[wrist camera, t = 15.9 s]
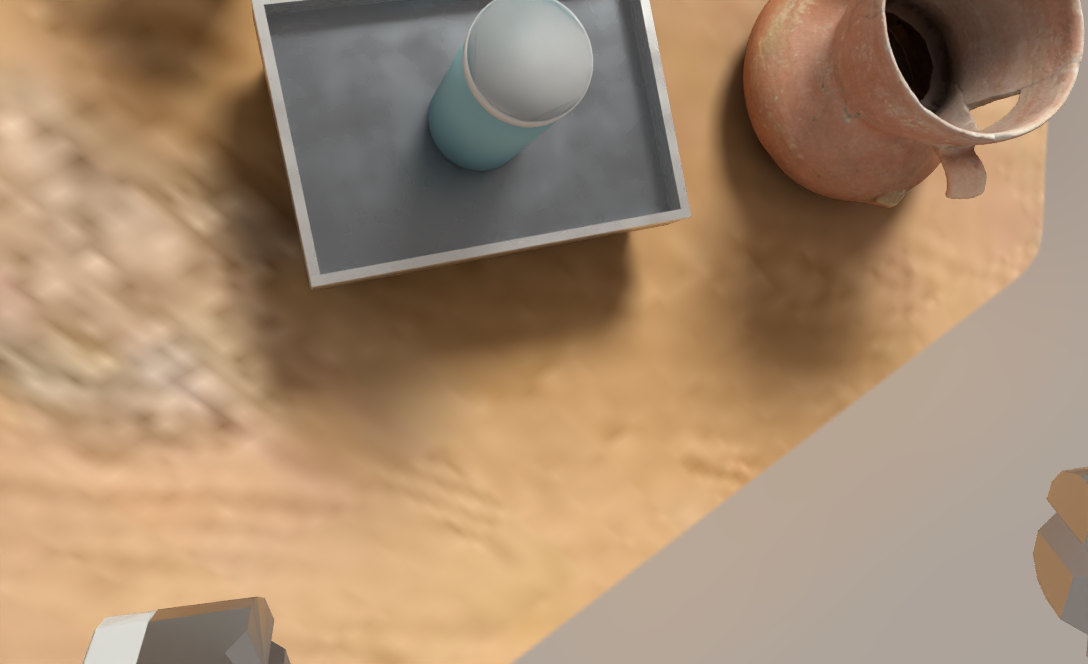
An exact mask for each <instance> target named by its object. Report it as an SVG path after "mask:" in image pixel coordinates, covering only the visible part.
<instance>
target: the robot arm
mask: <svg viewBox="0 0 1088 664" xmlns="http://www.w3.org/2000/svg"><path fill="white" fill-rule="evenodd" d="M1047 500H1048V502H1049V503H1050V504H1051V506H1052V507H1053V508H1054V510H1055V511H1056V512H1057V513H1056V514H1055V515H1054V516H1053V517H1051V519H1049V520H1048V521H1047V523H1045V524H1044V525H1043V526H1042V527H1041V528H1040V529H1039V530H1038V533H1037V538H1036V542H1035V547H1034V552H1033V557H1034V562H1035V569H1036V574H1037V579H1038V582H1039V584H1040V586H1041V589H1042V591H1043V593H1044V595H1045V597H1046V599H1047V601H1048V602H1049V604H1050V605H1051V606H1052V608H1053V609H1054V611H1055V612H1056V614H1057V615H1058V617H1059V618H1060V619H1061V620H1063V621H1065V622H1066V623H1068V624H1070V625H1072V626H1073V627H1075V628H1077V629H1079V630H1080V631H1082V632H1084V633H1086V634H1087V635H1088V467H1083V468H1077V469H1071V470H1065V471H1062V472H1061V473H1060V474H1059V475H1058V476H1057V477H1056V478H1055V479H1054V480H1053V481H1052V483H1051V487H1050V490H1049V494H1048V497H1047ZM273 625H274V618H273V616H272V614H271V611H270V609H269V607H268V604H267V602H266V600H265V598H262V597H251V598H243V599H235V600H228V601H220V602H212V603H205V604H197V605H189V606H181V607H174V608H166V609H158V610H157V611H149V612H142V613H134V614H127V615H119V616H111V617H106V618H105V619H104V620H103V622H102V623H101V624H100V625H99V626H98V628H97V629H96V630H95V631H94V633H93V636H92V639H91V642H90V644H89V647H88V650H87V653H86V656H85V659H84V661H83V664H291V663H290V661H289V658H288V655H287V652H286V650H285V649H284V648H283V647H281V646H279V645H277V644H276V643H274V642H272V641H271V639H272V632H273ZM1086 655H1087V657H1088V640H1087V653H1086Z"/></svg>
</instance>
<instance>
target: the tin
mask: <svg viewBox="0 0 1088 664" xmlns="http://www.w3.org/2000/svg"><path fill="white" fill-rule="evenodd" d="M592 71H593V54H592V48H591V44H590V40H589V38H588V35H587V33H586V31H585V29H584V27H583V26H582V24H581V23H580V21H579V20H578V18H577V17H576V16H575V15H574V14H573V13H572V12H571V11H570V10H569V9H568V8H567V7H566V6H564V5H563V4H561V3H560V2H558V1H557V0H493V1H492V2H491V3H489V4H488V5H487V6H486V7H485V8H484V9H482V10H481V12H480V13H479V14H478V15H477V17H476V18H475V20H474V22H473V24H472V25H471V27H470V29H469V31H468V33H467V36H466V38H465V40H464V42H463V44H462V46H461V47H460V49H459V51H458V53H457V54H456V56H455V58H454V60H453V62H452V63H451V65H450V67H449V69H448V70H447V72H446V74H445V76H444V78H443V79H442V81H441V83H440V85H439V86H438V88H437V90H436V92H435V93H434V95H433V98H432V100H431V103H430V107H429V113H428V122H429V128H430V132H431V135H432V138H433V140H434V142H435V144H436V145H437V147H438V148H439V150H440V151H441V152H442V153H443V154H444V155H445V156H446V157H447V158H448V159H449V160H451V161H452V162H454V163H455V164H457V165H459V166H461V167H463V168H467V169H470V170H478V171H484V170H491V169H495V168H498V167H500V166H502V165H504V164H506V163H507V162H509V161H510V160H511V159H512V158H514V157H515V156H516V155H517V154H518V153H519V152H521V151H522V150H523V149H524V148H525V147H527V146H528V145H529V144H530V143H531V142H532V141H534V140H535V139H536V138H537V137H538V136H539V135H541V134H542V133H543V132H544V131H545V130H547V129H548V128H549V127H550V126H551V125H552V124H554V123H555V122H556V121H557V120H559V119H561V118H562V117H563V116H565V115H566V114H567V113H568V112H570V111H571V110H572V109H573V108H574V107H575V106H576V105H577V104H578V103H579V102H580V100H581V99H582V98H583V96H584V95H585V93H586V91H587V89H588V86H589V84H590V81H591V77H592Z"/></svg>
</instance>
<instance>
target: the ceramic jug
mask: <svg viewBox="0 0 1088 664" xmlns="http://www.w3.org/2000/svg"><path fill="white" fill-rule="evenodd" d="M1083 47H1084V20H1083V13H1082V9H1081V3H1080V0H769V1H768V3H767V4H766V5H765V7H764V8H763V10H762V11H761V13H760V14H759V16H758V18H757V20H756V22H755V24H754V26H753V29H752V31H751V34H750V37H749V40H748V44H747V48H746V54H745V60H744V72H743V85H744V96H745V102H746V107H747V111H748V114H749V118H750V121H751V124H752V126H753V129H754V131H755V133H756V135H757V137H758V139H759V141H760V142H761V144H762V146H763V147H764V148H765V150H766V151H767V152H768V153H769V155H770V156H771V157H772V158H773V160H774V161H775V163H776V164H777V165H778V166H779V168H780V169H781V170H782V171H783V172H784V173H785V174H786V175H787V176H788V177H790V178H791V179H792V180H793V181H795V182H796V183H798V184H799V185H801V186H803V187H804V188H806V189H808V190H810V191H812V192H814V193H817V194H819V195H822V196H825V197H829V198H833V199H837V200H844V201H856V202H864V203H869V204H874V205H877V206H881V207H885V208H890V207H894V206H896V205H897V204H898V203H899V202H900V201H901V200H902V199H903V198H904V196H905V194H906V191H908V190H909V189H911V188H913V187H914V186H916V185H917V184H919V183H920V182H922V181H923V180H924V179H925V178H926V177H928V176H929V175H930V174H931V173H932V172H933V171H934V170H935V168H936V167H937V166H938V165H939V164H940V162H941V163H942V165H943V168H944V170H945V174H946V178H947V190H946V197H948V198H951V199H969V198H974V197H976V196H978V195H981V194H982V193H983V192H984V189H985V184H986V178H987V177H986V172H985V169H984V166H983V164H982V162H981V160H980V159H979V157H978V156H977V155H976V153H975V151H974V147H975V145H984V144H991V143H997V142H1002V141H1006V140H1009V139H1013V138H1016V137H1019V136H1022V135H1024V134H1026V133H1029V132H1031V131H1033V130H1035V129H1037V128H1038V127H1040V126H1042V125H1043V124H1044V123H1045V122H1047V121H1048V120H1049V119H1050V118H1052V117H1053V116H1054V114H1056V112H1057V111H1058V110H1059V109H1060V108H1061V106H1062V105H1063V104H1064V102H1065V101H1066V99H1067V97H1068V96H1069V93H1070V92H1071V90H1072V88H1073V85H1074V83H1075V80H1076V78H1077V74H1078V68H1079V65H1080V63H1081V59H1082V56H1083ZM1017 94H1020V96H1019V100H1018V102H1017V104H1016V106H1015V107H1014V108H1013V109H1012V110H1011V111H1010V112H1009V113H1008V114H1007V115H1005V116H1004V117H1003V118H1002V119H1001V120H999V121H997V122H995V123H994V124H993V125H991V126H989V127H987V128H985V129H983V130H981V131H978V126H977V124H976V122H975V121H974V118H973V117H972V115H971V114H970V113H969V112H970V110H973V109H975V108H977V107H980V106H983V105H986V104H989V103H991V102H993V101H996V100H1000V99H1004V98H1008V97H1010V96H1013V95H1017Z"/></svg>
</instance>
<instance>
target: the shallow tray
mask: <svg viewBox="0 0 1088 664" xmlns="http://www.w3.org/2000/svg"><path fill="white" fill-rule="evenodd" d="M492 1H493V0H251V3H252V12H253V21H254V26H255V31H256V35H257V40H258V45H259V50H260V54H261V59H262V64H263V69H264V73H265V78H266V83H267V88H268V92H269V97H270V102H271V107H272V112H273V116H274V121H275V126H276V131H277V135H278V140H279V145H280V150H281V154H282V159H283V164H284V169H285V174H286V178H287V183H288V188H289V193H290V197H291V202H292V207H293V212H294V216H295V221H296V226H297V231H298V236H299V240H300V245H301V250H302V255H303V259H304V264H305V269H306V274H307V278H308V283H309V288H310V291H315V290H320V289H325V288H331V287H336V286H341V285H347V284H352V283H358V282H363V281H368V280H374V279H379V278H384V277H390V276H395V275H401V274H406V273H411V272H417V271H422V270H427V269H433V268H438V267H443V266H449V265H454V264H460V263H465V262H470V261H476V260H481V259H486V258H492V257H497V256H503V255H508V254H513V253H519V252H524V251H529V250H535V249H540V248H545V247H551V246H556V245H562V244H567V243H572V242H578V241H583V240H588V239H594V238H599V237H605V236H610V235H615V234H621V233H626V232H631V231H637V230H642V229H647V228H653V227H658V226H664V225H668V224H671V223H674V222H677V221H680V220H683V219H686V218H689V217H691V212H690V207H689V202H688V197H687V192H686V187H685V182H684V176H683V171H682V166H681V161H680V156H679V151H678V146H677V140H676V135H675V130H674V125H673V120H672V115H671V110H670V104H669V99H668V94H667V89H666V84H665V79H664V74H663V68H662V63H661V58H660V53H659V48H658V43H657V38H656V32H655V27H654V22H653V17H652V12H651V7H650V2H649V0H557V1H558V2H560V3H561V4H563V5H564V6H566V7H567V8H568V9H569V10H570V11H571V12H572V13H573V14H574V15H575V16H576V17H577V18H578V20H579V21H580V23H581V24H582V26H583V27H584V29H585V31H586V33H587V35H588V38H589V40H590V44H591V48H592V54H593V71H592V77H591V81H590V84H589V86H588V89H587V91H586V93H585V95H584V96H583V98H582V99H581V100H580V102H579V103H578V104H577V105H576V106H575V107H574V108H573V109H572V110H571V111H570V112H568V113H567V114H566V115H565V116H563V117H562V118H561V119H559V120H557V121H556V122H555V123H554V124H552V125H551V126H550V127H549V128H548V129H547V130H545V131H544V132H543V133H542V134H541V135H539V136H538V137H537V138H536V139H535V140H534V141H532V142H531V143H530V144H529V145H528V146H527V147H525V148H524V149H523V150H522V151H521V152H519V153H518V154H517V155H516V156H515V157H514V158H512V159H511V160H510V161H509V162H507V163H506V164H504V165H502V166H500V167H498V168H495V169H491V170H484V171H478V170H470V169H467V168H463V167H461V166H459V165H457V164H455V163H454V162H452V161H451V160H449V159H448V158H447V157H446V156H445V155H444V154H443V153H442V152H441V151H440V150H439V148H438V147H437V145H436V144H435V142H434V140H433V138H432V135H431V132H430V128H429V122H428V113H429V107H430V103H431V100H432V98H433V95H434V93H435V92H436V90H437V88H438V86H439V85H440V83H441V81H442V79H443V78H444V76H445V74H446V72H447V70H448V69H449V67H450V65H451V63H452V62H453V60H454V58H455V56H456V54H457V53H458V51H459V49H460V47H461V46H462V44H463V42H464V40H465V38H466V36H467V33H468V31H469V29H470V27H471V25H472V24H473V22H474V20H475V18H476V17H477V15H478V14H479V13H480V12H481V10H482V9H484V8H485V7H486V6H487V5H488V4H489V3H491V2H492Z"/></svg>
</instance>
